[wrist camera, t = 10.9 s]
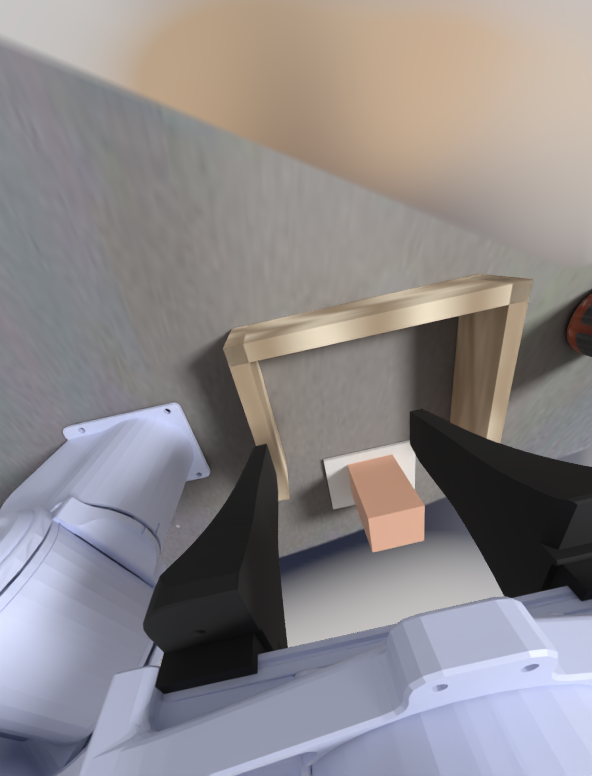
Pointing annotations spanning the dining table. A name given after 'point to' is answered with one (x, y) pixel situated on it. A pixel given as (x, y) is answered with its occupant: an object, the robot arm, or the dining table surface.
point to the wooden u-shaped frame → (387, 313)
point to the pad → (339, 464)
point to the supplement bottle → (581, 328)
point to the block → (386, 503)
